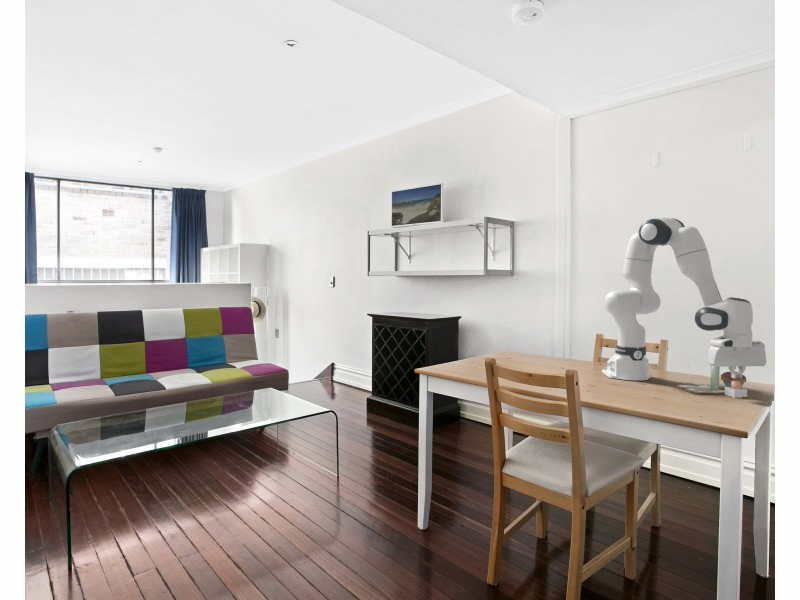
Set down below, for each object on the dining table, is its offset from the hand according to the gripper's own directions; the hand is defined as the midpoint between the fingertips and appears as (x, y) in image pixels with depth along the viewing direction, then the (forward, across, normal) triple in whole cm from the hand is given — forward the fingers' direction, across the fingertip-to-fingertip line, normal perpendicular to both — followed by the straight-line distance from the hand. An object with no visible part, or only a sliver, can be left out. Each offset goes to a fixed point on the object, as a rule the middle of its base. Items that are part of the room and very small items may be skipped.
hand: (736, 378), depth 183 cm
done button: (+5, 0, 0) cm, 5 cm away
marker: (+6, +4, -7) cm, 10 cm away
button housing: (+7, 0, 0) cm, 7 cm away
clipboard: (+7, +6, -10) cm, 14 cm away
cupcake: (+7, -7, -11) cm, 15 cm away
